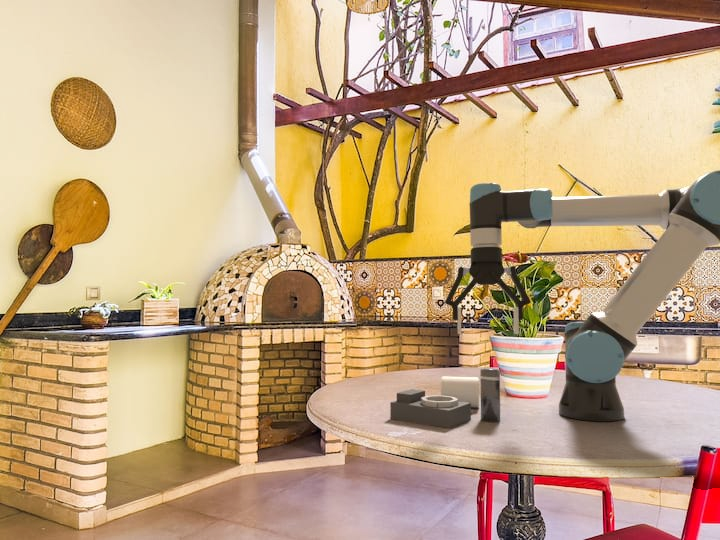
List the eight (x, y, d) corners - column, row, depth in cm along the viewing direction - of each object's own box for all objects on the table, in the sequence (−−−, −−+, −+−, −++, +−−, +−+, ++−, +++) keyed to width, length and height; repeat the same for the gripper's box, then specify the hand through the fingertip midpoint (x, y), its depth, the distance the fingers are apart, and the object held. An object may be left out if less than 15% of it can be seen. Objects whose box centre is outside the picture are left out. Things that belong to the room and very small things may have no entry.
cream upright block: (479, 410, 146) (479, 379, 146) (440, 409, 148) (440, 378, 148) (478, 401, 158) (478, 373, 158) (443, 400, 160) (443, 372, 160)
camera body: (470, 419, 135) (470, 394, 136) (449, 428, 127) (449, 401, 127) (414, 411, 145) (413, 387, 145) (390, 418, 136) (390, 393, 136)
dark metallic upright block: (503, 419, 135) (503, 369, 136) (495, 423, 132) (495, 371, 132) (485, 416, 138) (485, 367, 139) (477, 420, 135) (476, 369, 135)
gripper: (535, 247, 140) (537, 332, 139) (434, 249, 143) (436, 332, 142) (541, 244, 132) (543, 334, 131) (435, 246, 135) (436, 334, 134)
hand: (487, 334), depth 136 cm, fingers open, 13 cm apart
